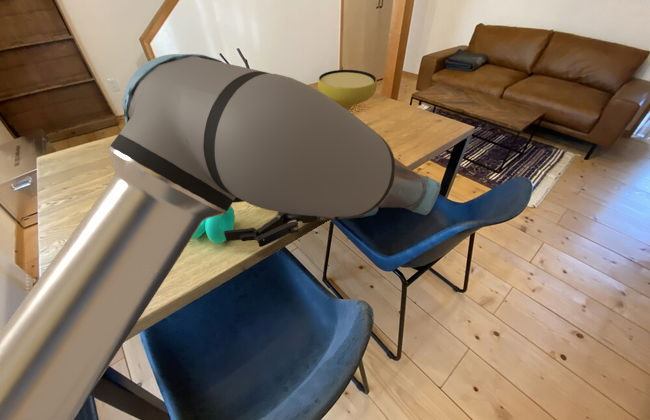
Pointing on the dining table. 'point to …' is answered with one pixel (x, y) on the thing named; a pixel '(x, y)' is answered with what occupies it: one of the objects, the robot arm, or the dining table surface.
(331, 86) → the cocktail glass
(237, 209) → the dining table surface
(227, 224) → the donuts
